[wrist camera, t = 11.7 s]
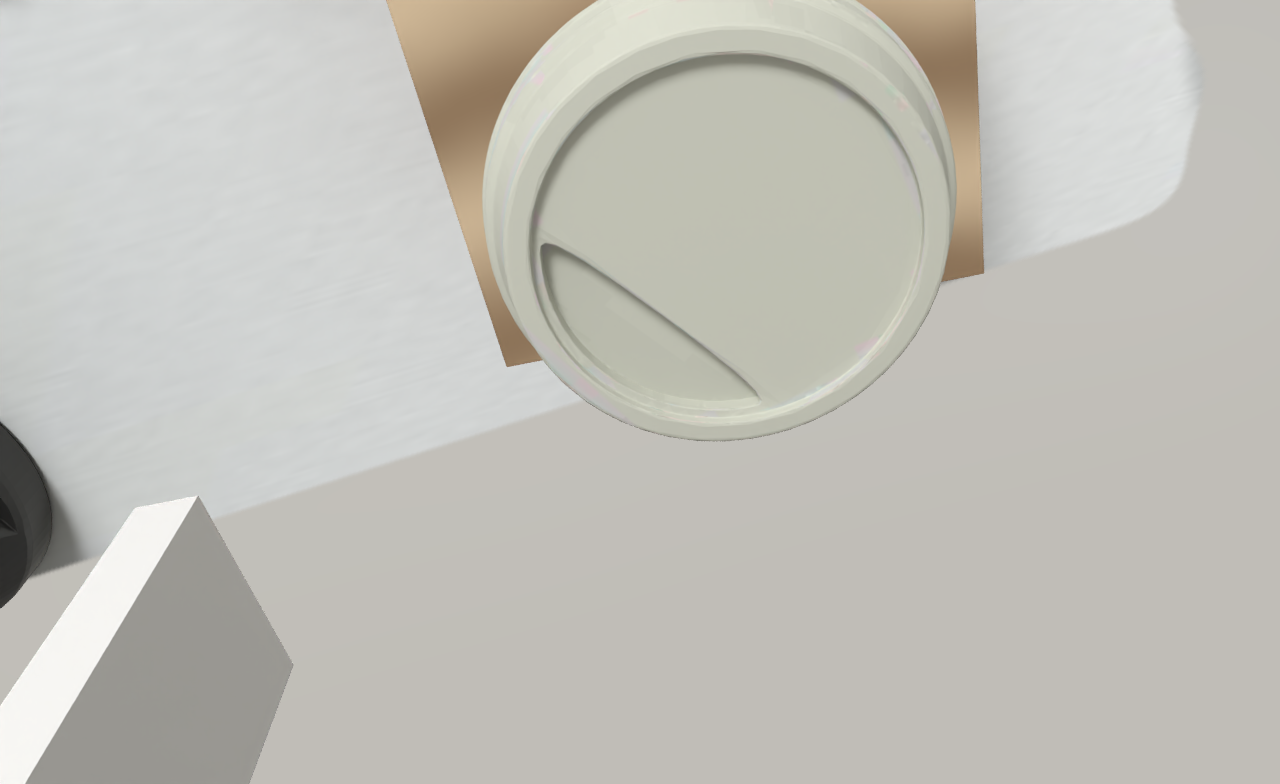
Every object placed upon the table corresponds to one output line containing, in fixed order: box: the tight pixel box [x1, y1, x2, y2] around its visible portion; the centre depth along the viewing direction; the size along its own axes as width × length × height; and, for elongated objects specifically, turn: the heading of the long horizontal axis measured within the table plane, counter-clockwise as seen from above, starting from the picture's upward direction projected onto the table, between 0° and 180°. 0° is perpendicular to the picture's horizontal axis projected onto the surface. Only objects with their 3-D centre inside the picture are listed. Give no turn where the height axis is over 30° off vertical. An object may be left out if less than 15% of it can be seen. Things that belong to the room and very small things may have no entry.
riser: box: [386, 0, 984, 367], centre depth 32 cm, size 15×15×12 cm
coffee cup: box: [482, 0, 957, 441], centre depth 21 cm, size 9×8×12 cm
